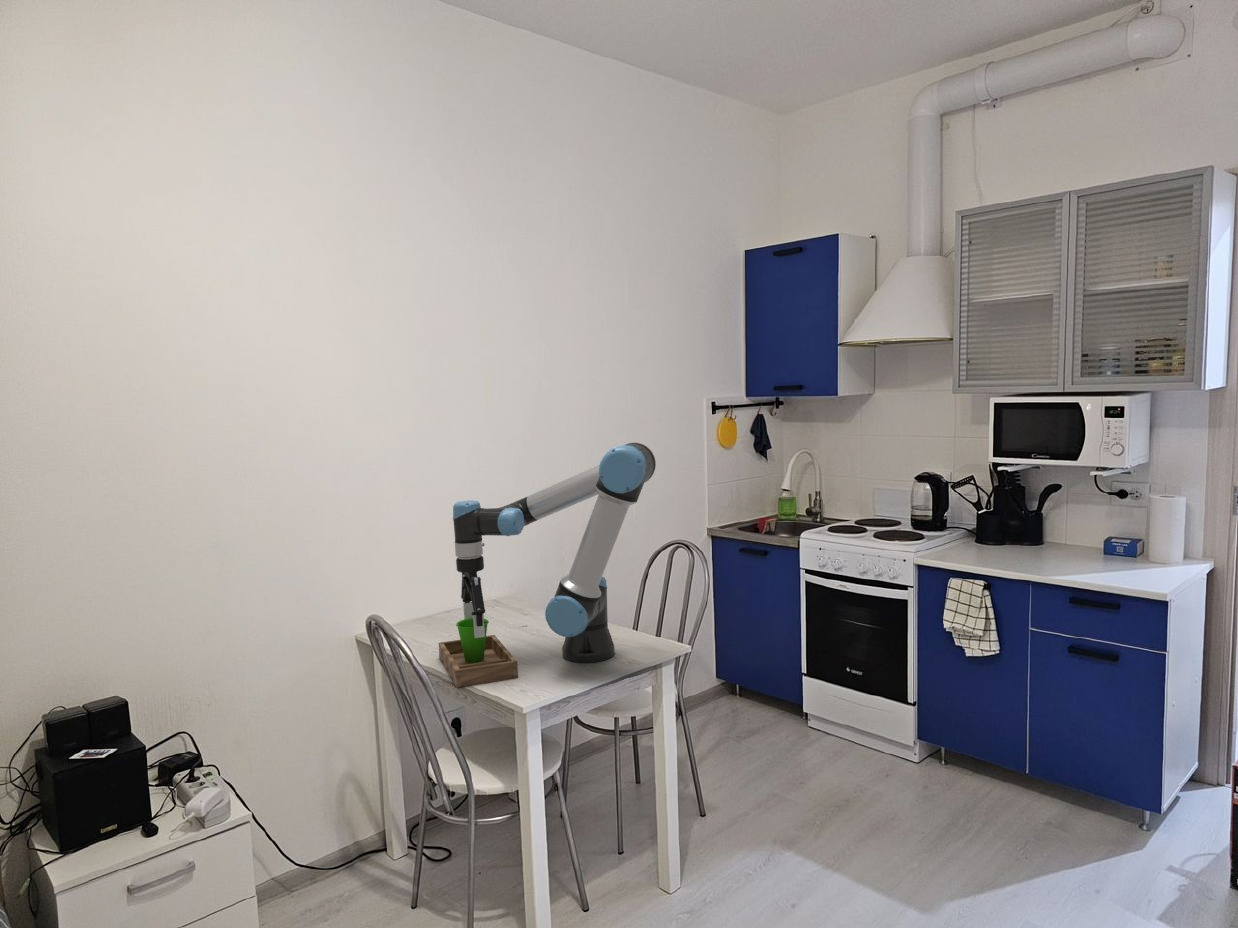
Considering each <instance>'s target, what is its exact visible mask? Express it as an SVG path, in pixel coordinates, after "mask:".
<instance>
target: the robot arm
mask: <svg viewBox="0 0 1238 928" xmlns="http://www.w3.org/2000/svg"><path fill="white" fill-rule="evenodd" d="M656 465H657V463H656V457H655V455H654V453H653V451H652V450H651V449H650V448H649V446H646V445H644V444H643V443H639V442H629V443H626V444H620V445H617V446H614V447H612V448H610V449H609V450H608V451H607V452H605V453H604V455H603V456H602V458H601V461H600V463H599V464H598V465H596V466H593V467H591V468H589V469H587V470H584V471H582V472H579V473H577V474H575V475H573V476H570V477H569V478H565V479H564V480H561V481H559V482H557V483H555V484H554V483H553V484H552V485H551V486H548V487H545V488H544V489H543V488H542V489H541V490H538V491H536V492H534V493H532V494H530V495H528V496H525V497H523V498H520V499H519V500H516V501H514V502H511V503H509V504H506V505H504V506H500V507H496V508H494V507H493V508H491V507H490V508H483V507H482V506H481V503H480V502H479V501H478V500H462V501H457V502H455V503H454V504H453V506H452V510H453V511H452V514H453V516H452V522H453V531H454V532H453V533H454V549H455V550H454V553H455V557H456V559H455V564H456V565H455V566H456V571H457V572H458V573H461V594H460V598H461V599H462V605H463V606H462V607H463V620H464V619H468V618H473V621H474V636H475V638H480V637H485V630H484V619H485V615H484V614H485V613H486V608H485V604H484V596H483V591H482V577H480V576H478V572H481V571H483V570H484V568H485V562H484V561H485V560H484V556H483V554H484V551H483V550H484V549H483V547H485V543H484V542H483V536H505V537H510V536H518V535H520V534H521V533H522V531H523V529H524V527H526V526H529V525H530V524H533V523H534V522H537V521H539V520H541V519H543V518H546V517H548V516H550V515H554V514H556V513H558V512H560V511H563V510H564V509H568V508H569V507H570V508H571V507H572V506H575V505H577V504H579V503H582V502H583V501H586V500H588V499H592V498H593V497H595V496H597V499H596V501H595V503H594V506H593V509H592V512H591V514H590V516H589V520H588V521H587V522H588V523H587V525H586V528H585V531H584V534H583V535H582V538H581V541H580V544H579V546H578V548H577V552H576V554H575V557H574V560H573V563H572V565H571V567H570V570H569V573H568V574H567V575H566V576H563V577H561V578H560V580H559V584H558V586H557V589H556V591H555V593H554V597H553V598H551V599H550V600H549V602H547V605H546V607H545V612H544V616H545V621H546V622H547V625H548V627H549V628H550V629H551V631H552V632H554V633H555V634H556V635H558V636H561V637H563V638H564V642H563V644H562V646H561V651H562V652H561V653H562V657H563V659H565V660H567V661H570V662H574V663H597V662H603V661H606V660H608V659H610V658H612V657H614V655H615V653H616V652H615V651H616V650H615V643H614V641H613V638H612V634H611V632H610V629H609V626H608V585H607V579H606V578H605V577H604V572H605V570H606V567H607V565H608V562H609V560H610V557H611V554H612V552H613V550H614V546H615V543H617V542H616V541H617V539H618V536H619V534H620V531H621V528H622V526H623V523H624V521H625V517H626V515H627V513H628V510H629V507H631V506H632V505H634V504H636V503H637V502H638V500H639V497H640V495H641V493H642V490H643V486H644V485H645V483H646V482H648V481H650V479H651V478H652V477H653V476H654V473H655V471H656V467H657V466H656Z"/></svg>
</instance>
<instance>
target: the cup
mask: <svg viewBox="0 0 1238 928" xmlns="http://www.w3.org/2000/svg"><path fill="white" fill-rule="evenodd" d="M488 624H489V620H488V619H487V618H484V630H485V637H480V638H475V636H474V621H473V618H468V619H464V618H463V619H460V620H459V621H457V622H456V624H455V626H456V627H457V629H458V634H459V640H461V644H462V649H463V653H464V658H465V661H466V662H467V663H479V662H481V661H483V659H484V652H485V642H486V636H487V631H488Z"/></svg>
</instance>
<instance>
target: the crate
mask: <svg viewBox="0 0 1238 928" xmlns="http://www.w3.org/2000/svg"><path fill="white" fill-rule="evenodd" d="M438 655H439V656H438V658H439V660H440V662H441V663H442V665H443V666H444V668H445V670H446V672H447V673H448V675H449V676H450V678H451V680H452V682H453V684H454V686H455V687H456V689H458V688H463V687H464V688H465V687H469V686H477V685H481V684H482V683H483V684H487V683H489V684H490V683H494V682H501V681H507V680H513V679H518V678H519V666H518V665H519V663H518V660H517V659H516V658H515V657H514V655H512V653H511V652H510V651H509V650H508V649H507V648H506V646H505V645H504V644H503V643H502V642H501V640H500V639H498V637H497V636H496V635H495V634H490V635H486V642H485V652H484V659H483V661H481V662H479V663H467V662H466V661H465V658H464V653H463V649H462V644H461V640H460V639H454V640H448V641H442V642H438ZM476 684H477V685H476Z"/></svg>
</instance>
